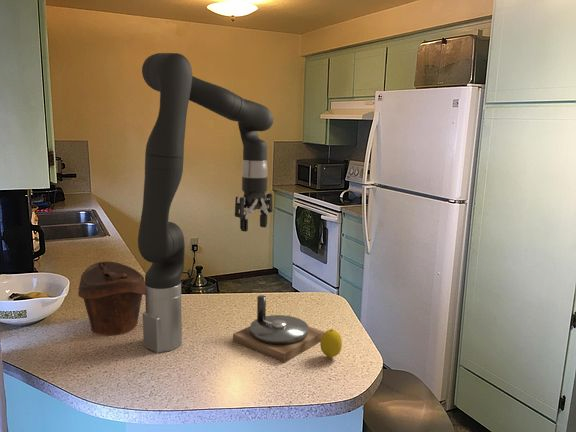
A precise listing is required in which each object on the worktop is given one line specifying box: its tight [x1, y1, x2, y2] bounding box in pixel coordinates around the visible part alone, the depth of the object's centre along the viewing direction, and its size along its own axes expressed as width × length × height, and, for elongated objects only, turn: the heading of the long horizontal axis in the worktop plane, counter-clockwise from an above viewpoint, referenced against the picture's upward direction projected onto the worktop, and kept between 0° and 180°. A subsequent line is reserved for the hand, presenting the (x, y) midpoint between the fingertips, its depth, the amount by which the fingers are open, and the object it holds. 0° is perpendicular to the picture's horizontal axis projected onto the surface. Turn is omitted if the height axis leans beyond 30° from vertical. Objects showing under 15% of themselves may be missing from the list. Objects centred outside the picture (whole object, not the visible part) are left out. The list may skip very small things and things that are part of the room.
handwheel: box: [249, 294, 309, 344], centre depth 133 cm, size 16×16×9 cm
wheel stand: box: [232, 325, 325, 364], centre depth 134 cm, size 18×18×3 cm
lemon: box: [319, 328, 343, 359], centre depth 125 cm, size 6×6×8 cm
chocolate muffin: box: [77, 261, 145, 336], centre depth 139 cm, size 18×20×18 cm
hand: (254, 229), depth 146 cm, fingers open, 8 cm apart
